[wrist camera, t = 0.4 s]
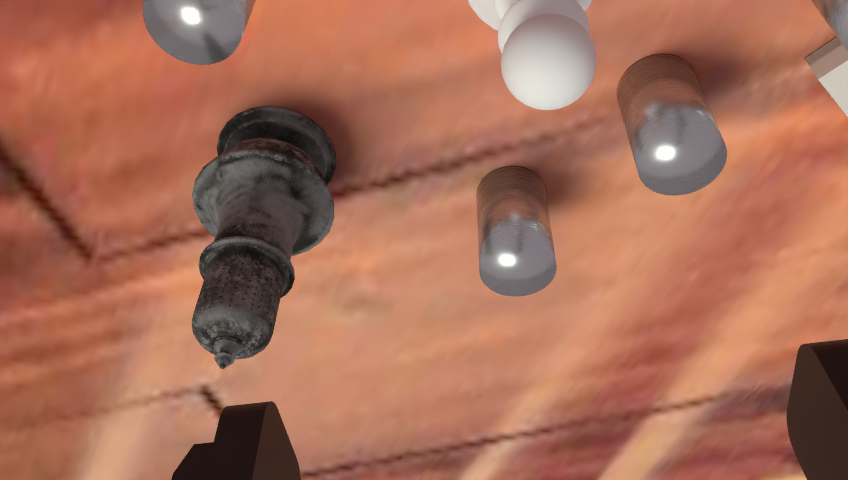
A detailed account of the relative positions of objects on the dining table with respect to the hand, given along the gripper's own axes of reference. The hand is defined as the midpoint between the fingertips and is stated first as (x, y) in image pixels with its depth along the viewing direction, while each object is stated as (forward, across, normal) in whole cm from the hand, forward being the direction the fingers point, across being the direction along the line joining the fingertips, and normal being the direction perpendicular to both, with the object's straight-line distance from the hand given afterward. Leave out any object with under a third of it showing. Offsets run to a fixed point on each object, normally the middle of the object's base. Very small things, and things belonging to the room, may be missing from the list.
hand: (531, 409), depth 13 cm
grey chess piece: (+23, +9, +8) cm, 26 cm away
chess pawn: (+22, -2, 0) cm, 22 cm away
